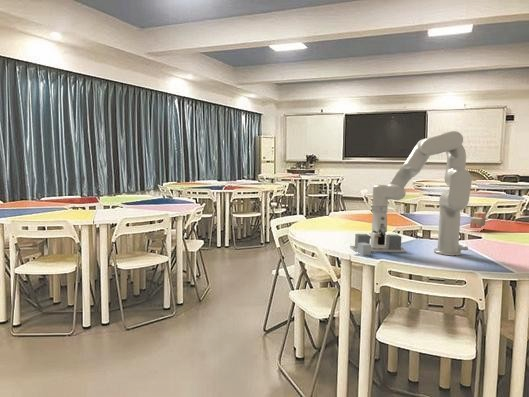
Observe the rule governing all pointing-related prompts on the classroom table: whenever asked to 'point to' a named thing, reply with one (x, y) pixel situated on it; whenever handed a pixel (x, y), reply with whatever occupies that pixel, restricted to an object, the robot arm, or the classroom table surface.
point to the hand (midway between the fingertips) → (377, 242)
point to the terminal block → (364, 249)
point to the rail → (391, 246)
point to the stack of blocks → (478, 220)
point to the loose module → (376, 240)
